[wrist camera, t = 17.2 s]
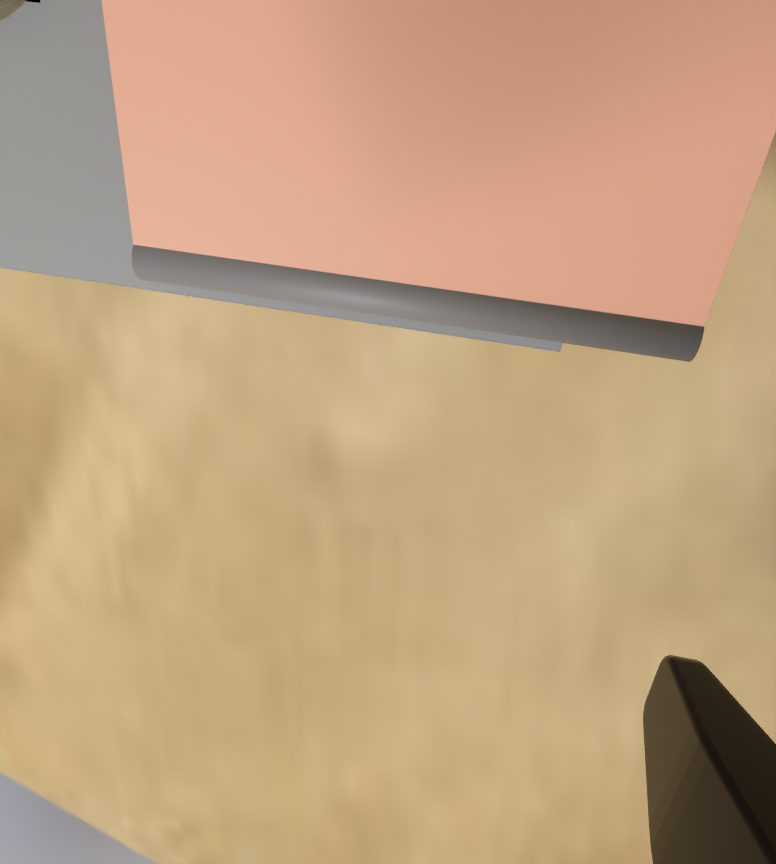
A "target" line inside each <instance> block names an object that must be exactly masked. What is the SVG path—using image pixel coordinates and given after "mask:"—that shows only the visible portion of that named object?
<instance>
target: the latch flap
mask: <svg viewBox="0 0 776 864" xmlns="http://www.w3.org/2000/svg"><path fill="white" fill-rule="evenodd" d="M101 1H102V8H103V16H104V24H105V31H106V39H107V47H108V54H109V62H110V70H111V77H112V85H113V93H114V101H115V108H116V116H117V124H118V131H119V139H120V147H121V154H122V162H123V170H124V177H125V185H126V193H127V200H128V208H129V216H130V223H131V231H132V239H133V248H132V266H133V270H134V273H135V275H136V276H137V278H139V279H140V280H145V281H151V282H158V283H165V284H172V285H178V286H185V287H192V288H198V289H205V290H212V291H218V292H225V293H232V294H239V295H245V296H252V297H259V298H265V299H272V300H279V301H286V302H292V303H299V304H306V305H312V306H319V307H326V308H333V309H339V310H346V311H353V312H359V313H366V314H373V315H380V316H386V317H393V318H400V319H406V320H413V321H420V322H426V323H433V324H440V325H447V326H453V327H460V328H467V329H473V330H480V331H487V332H494V333H500V334H507V335H514V336H520V337H527V338H534V339H541V340H547V341H554V342H561V343H567V344H574V345H581V346H588V347H594V348H601V349H608V350H614V351H621V352H628V353H634V354H641V355H648V356H655V357H661V358H668V359H675V360H681V361H688V362H690V361H691V360H693V358H694V357H695V355H696V354H697V352H698V349H699V347H700V344H701V341H702V337H703V332H704V326H705V323H706V320H707V318H708V315H709V312H710V310H711V307H712V304H713V301H714V299H715V296H716V293H717V290H718V288H719V285H720V282H721V280H722V277H723V274H724V271H725V269H726V266H727V263H728V260H729V258H730V255H731V252H732V250H733V247H734V244H735V241H736V239H737V236H738V233H739V230H740V228H741V225H742V222H743V220H744V217H745V214H746V211H747V209H748V206H749V203H750V200H751V198H752V195H753V192H754V190H755V187H756V184H757V181H758V179H759V176H760V173H761V170H762V168H763V165H764V162H765V160H766V157H767V154H768V151H769V149H770V146H771V143H772V140H773V138H774V135H775V132H776V0H101Z"/></svg>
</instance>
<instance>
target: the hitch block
mask: <svg viewBox="0 0 776 864" xmlns="http://www.w3.org/2000/svg"><path fill="white" fill-rule="evenodd" d="M132 248H133V239H132V231H131V223H130V216H129V208H128V200H127V193H126V185H125V177H124V170H123V162H122V154H121V147H120V139H119V131H118V124H117V116H116V108H115V101H114V93H113V85H112V77H111V70H110V62H109V54H108V47H107V39H106V31H105V24H104V16H103V8H102V1H101V0H40V3H36V2H27V1H25V2H24V3H23V5H22V6H21V7H19V8H18V9H17V10H16V11H15V12H13V13H12V14H11V15H10V16H9V17H7V18H5V19H3V20H1V21H0V268H6V269H12V270H19V271H26V272H32V273H39V274H46V275H52V276H59V277H65V278H72V279H79V280H85V281H92V282H99V283H105V284H112V285H119V286H125V287H132V288H139V289H145V290H152V291H159V292H165V293H172V294H178V295H185V296H192V297H198V298H205V299H212V300H218V301H225V302H232V303H238V304H245V305H252V306H258V307H265V308H272V309H278V310H285V311H291V312H298V313H305V314H311V315H318V316H325V317H331V318H338V319H345V320H351V321H358V322H365V323H371V324H378V325H385V326H391V327H398V328H404V329H411V330H418V331H424V332H431V333H438V334H444V335H451V336H458V337H464V338H471V339H478V340H484V341H491V342H498V343H504V344H511V345H517V346H524V347H531V348H537V349H544V350H551V351H557V352H560V351H561V347H562V343H561V342H554V341H547V340H541V339H534V338H527V337H520V336H514V335H507V334H500V333H494V332H487V331H480V330H473V329H467V328H460V327H453V326H447V325H440V324H433V323H426V322H420V321H413V320H406V319H400V318H393V317H386V316H380V315H373V314H366V313H359V312H353V311H346V310H339V309H333V308H326V307H319V306H312V305H306V304H299V303H292V302H286V301H279V300H272V299H265V298H259V297H252V296H245V295H239V294H232V293H225V292H218V291H212V290H205V289H198V288H192V287H185V286H178V285H172V284H165V283H158V282H151V281H145V280H140V279H139V278H137V276H136V275H135V273H134V270H133V266H132Z"/></svg>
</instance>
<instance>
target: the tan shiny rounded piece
mask: <svg viewBox="0 0 776 864" xmlns="http://www.w3.org/2000/svg"><path fill="white" fill-rule="evenodd" d="M25 1H26V0H0V21H1V20H3V19H5V18H7V17H9V16H10V15H11V14H12V13H13V12H15V11H16V10H17V9H18V8H19V7H21V6H22V5H23V3H24V2H25Z"/></svg>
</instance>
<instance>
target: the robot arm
mask: <svg viewBox="0 0 776 864" xmlns="http://www.w3.org/2000/svg"><path fill="white" fill-rule="evenodd" d="M643 727H644V745H645V762H646V780H647V797H648V815H649V830H650V843H651V852H652V859H653V864H776V744H775V743H774V742H773V741H772V739H771V738H770V737H769V736H768V735H767V734H766V733H765V732H764V731H763V729H762V728H761V727H760V726H759V725H758V724H757V723H756V722H755V720H754V719H753V718H752V717H751V716H750V715H749V714H748V713H747V712H746V710H745V709H744V708H743V707H742V706H741V705H740V704H739V703H738V701H737V700H736V699H735V698H734V697H733V696H732V695H731V694H730V693H729V691H728V690H727V689H726V688H725V687H724V686H723V685H722V684H721V682H720V681H719V680H718V679H717V678H716V677H715V676H714V675H713V674H712V672H711V671H710V670H709V669H708V668H707V667H706V666H705V665H704V664H703V663H701V662H700V661H697V660H694V659H688V658H683V657H678V656H673V655H669V656H666V657H664V659H663V660H662V661H661V663H660V665H659V668H658V670H657V673H656V675H655V678H654V681H653V683H652V686H651V688H650V691H649V694H648V696H647V699H646V702H645V706H644V713H643Z"/></svg>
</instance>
